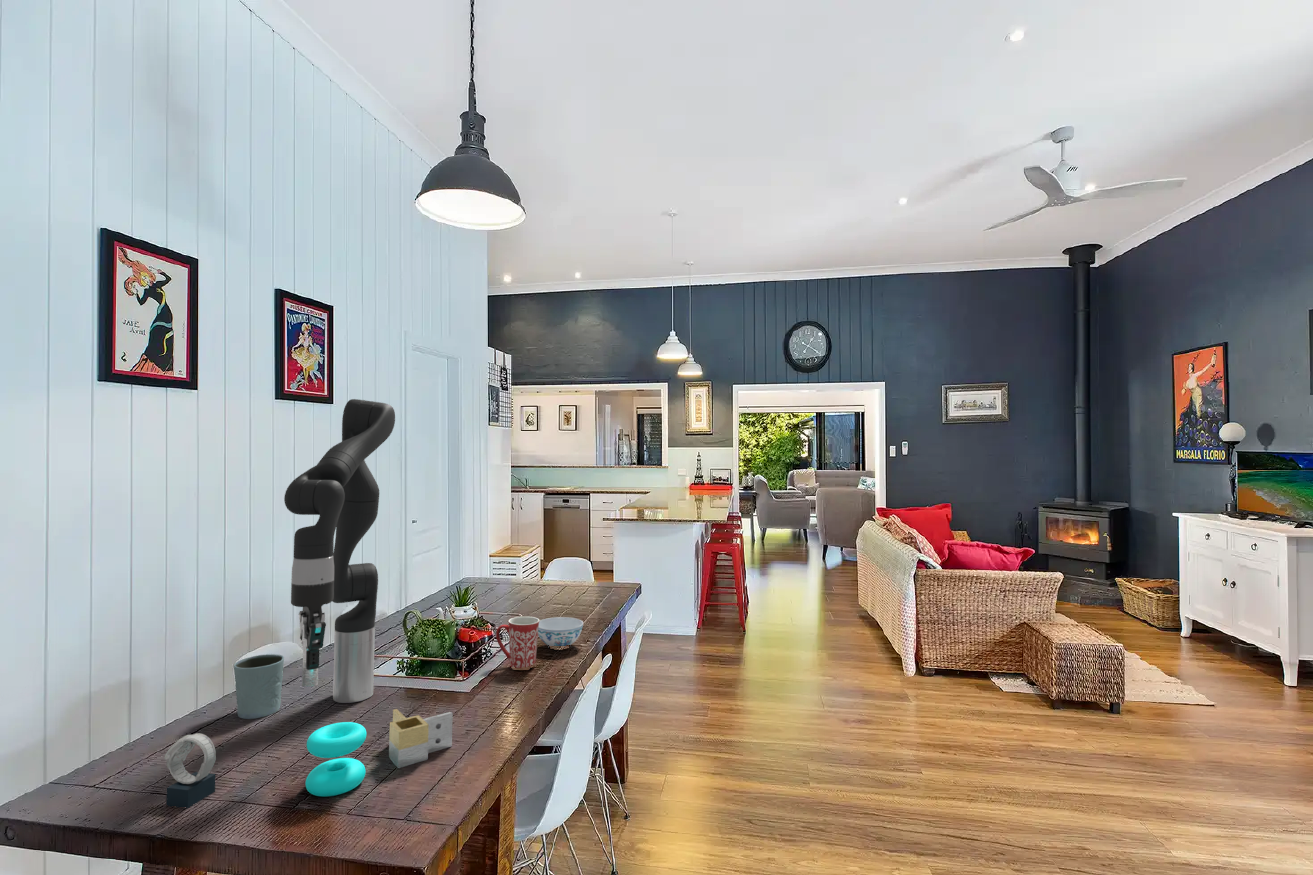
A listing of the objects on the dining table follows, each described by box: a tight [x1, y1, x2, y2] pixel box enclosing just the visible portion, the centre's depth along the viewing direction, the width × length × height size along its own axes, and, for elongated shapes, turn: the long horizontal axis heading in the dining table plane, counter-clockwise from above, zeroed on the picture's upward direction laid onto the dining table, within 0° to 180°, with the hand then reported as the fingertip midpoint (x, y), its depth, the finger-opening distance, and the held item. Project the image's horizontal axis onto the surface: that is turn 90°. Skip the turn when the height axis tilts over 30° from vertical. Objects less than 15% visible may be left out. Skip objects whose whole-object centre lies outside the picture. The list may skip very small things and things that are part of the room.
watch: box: [163, 732, 217, 809], centre depth 112 cm, size 6×8×11 cm
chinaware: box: [538, 616, 584, 647], centre depth 201 cm, size 15×15×8 cm
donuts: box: [304, 721, 368, 797], centre depth 117 cm, size 10×10×10 cm
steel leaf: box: [388, 711, 453, 769], centre depth 129 cm, size 6×12×7 cm, turn 130°
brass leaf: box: [388, 708, 429, 750], centre depth 130 cm, size 12×6×7 cm, turn 40°
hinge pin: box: [301, 624, 319, 688], centre depth 125 cm, size 3×3×12 cm
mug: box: [495, 616, 541, 668], centre depth 183 cm, size 13×9×14 cm
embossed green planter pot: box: [233, 653, 285, 720], centre depth 149 cm, size 10×10×12 cm
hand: (310, 665), depth 125 cm, fingers closed on hinge pin, 2 cm apart
